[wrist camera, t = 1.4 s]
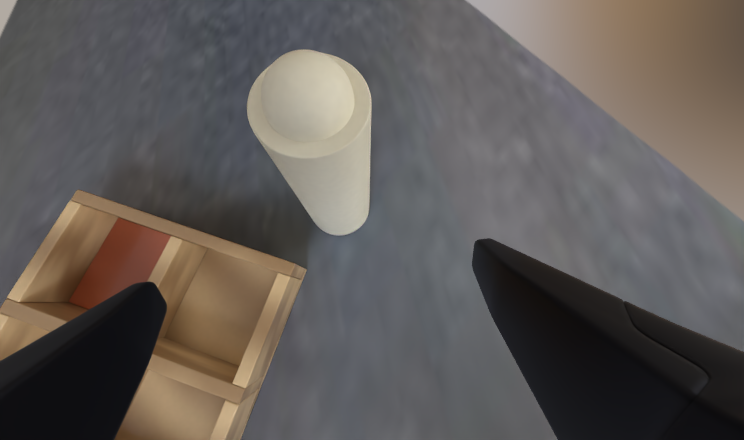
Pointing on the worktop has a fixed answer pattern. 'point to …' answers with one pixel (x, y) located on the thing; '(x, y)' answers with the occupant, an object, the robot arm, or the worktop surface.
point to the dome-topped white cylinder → (317, 134)
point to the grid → (183, 318)
